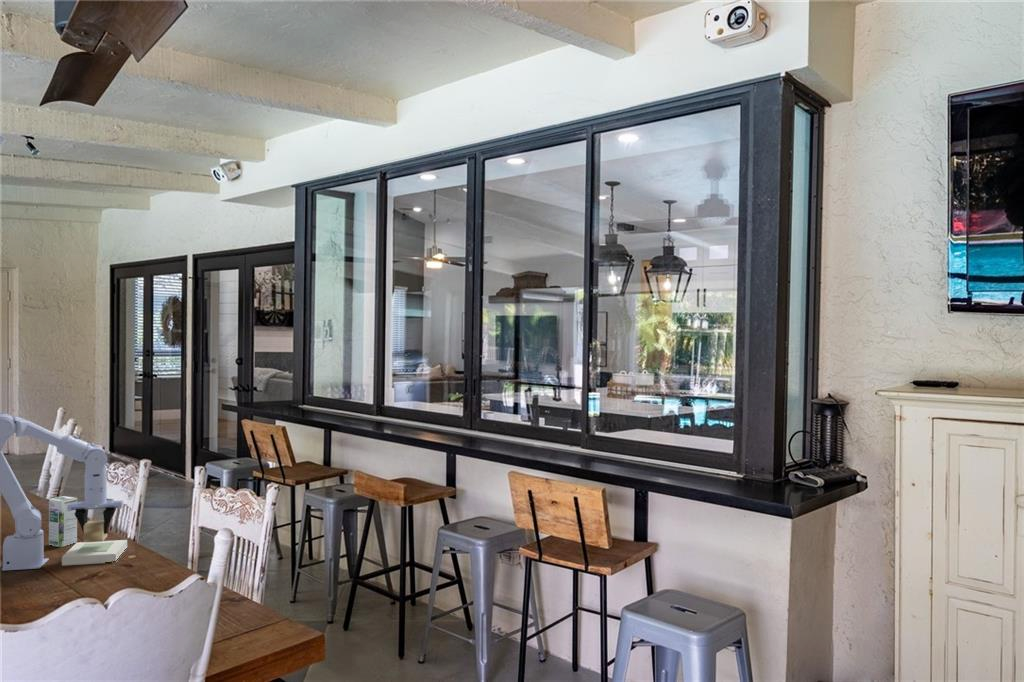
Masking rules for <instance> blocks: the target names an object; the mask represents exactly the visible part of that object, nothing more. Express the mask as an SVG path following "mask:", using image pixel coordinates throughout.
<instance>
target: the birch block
mask: <svg viewBox="0 0 1024 682" xmlns="http://www.w3.org/2000/svg"><path fill="white" fill-rule="evenodd" d="M106 538H108V533H107V534H104V519H102V520H87V523H86V524H85V525H84V535H83V542H102V541H105V540H106Z"/></svg>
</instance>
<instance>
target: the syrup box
mask: <svg viewBox="0 0 1024 682" xmlns="http://www.w3.org/2000/svg"><path fill="white" fill-rule="evenodd" d="M77 502H78V497H74V496H66V495H63V496H56V497H52V498H50V499H48V546H50V545H52V547H56V548H57V547H58V548H63V547H67V545H68V546H70V544H71V545H73V543H74V544H76V543H77V542H78V519H77V518H76V516H75V511H76V510H72V511H67V505H68V504H69V503H77Z"/></svg>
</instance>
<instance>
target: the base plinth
mask: <svg viewBox="0 0 1024 682" xmlns="http://www.w3.org/2000/svg"><path fill="white" fill-rule="evenodd" d="M126 548H128V539H120V540H119V539H116V540H104V541H102V542H84V541H82V542H81V541H80V542H78V541H77V543H74V545H73V546H71V547H70V549H69V550H67V551H66V552H65V553H64V554H63V555H62V556H61V566H63V567H64V566H79V565H93V564H96V565H97V564H106V563H105V562H111V561H116V560H117V559H118V558H119V556H120V555H121V554H122V553H123V552H124V553H125V551H126V550H127V549H126ZM125 549H126V550H125ZM124 550H125V551H124ZM124 553H123V554H124ZM123 554H122V555H123ZM122 555H121V556H122ZM121 556H120V557H121ZM119 559H120V558H119ZM119 559H118V560H119ZM118 560H117V561H118ZM117 561H116V562H117Z"/></svg>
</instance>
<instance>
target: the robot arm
mask: <svg viewBox="0 0 1024 682" xmlns="http://www.w3.org/2000/svg"><path fill="white" fill-rule="evenodd" d="M14 434H15V438H19V437H26V436H27V437H31V438H34V439H36V440H37V441H38V440H39V441H41V442H44V443H46V444H49V445H51V446H53V447H55V448H56V450H57V453H58V454H60V455H63V456H65V457H68V458H70V459H73V460H75V461H77V462H80V463H81V462H83V463H84V464H85V466H84V467H85V471H84V474H83V475H84V501H79V502H78V501H77V503H69V504H68V505H67V511H72V510H76V511H75V516H76V518H77V522H78V523H79V525H80V528H81V531H82V535H83V536H84V525H85V524H86V523H87V522H88V517H89V510H103V511H102V515H103V520H104V534H107V535H108V533H109V530H110V525H111V521H112V519H113V516H114V515H115V512H116V511H117V509H118V510H119V509H120V510H121V509H123V508H124V500H107V499H108V498H107V496H108V495H107V493H108V492H107V489H108V488H107V466H106V464H107V462H108V461H109V460H108V459H109V458H108V456H107V453H106V451H105V450H104V449H103V448H102V447H100V446H99V445H95V443H93V442H90V443H89V442H88V441H85V440H83V439H80V438H79V435H76V434H74V435H72V434H68V435H64V436H63V435H59V434H57V433H56V432H54V431H51V430H50V429H47V428H44V427H43V426H41V425H39V424H36V423H34V422H32V421H30V420H28V419H25V418H23V417H20V416H15V417H14V415H13V414H10V413H8V412H2V413H1V412H0V493H1V495H2V497H3V499H4V500H5V502H6V504H7V506H8V508H9V510H10V512H11V515H12V518H13V520H14V522H15V524H14V528H15V529H14V530H15V532H14V533H13V534H12V535H7V536H6V537H5V538H4V540H3V544H2V569H1V571H2V572H3V571H17V570H18V571H19V570H33V569H35V570H36V569H37V570H38V569H40V568H42V567H43V566H44V565H45V564H46V563H47V562H48V561H49V559H50V558H49V557H47V558H44V557H45V555H44V554H45V551H44V549H45V547H44V546H45V545H44V541H45V540H44V539H45V538H44V535H45V534H44V530H43V529H42V525H43V524H42V523H43V522H42V513H41V512H40V510H39V509H37V508H35V507H34V506H33V505H32V503H31V501H30V500H29V499H28V497H27V496H26V493H25V491H24V489H23V488H22V486H21V484H20V483H19V480H18V479H17V477H16V475H15V473H14V471H13V469H12V467H11V465H10V464H9V462H8V460H7V458H6V457H5V455H4V453H3V451H2V450H3V448H4V446H5V444H6V442H7V441H8V440H9V439H10V438H12V436H13V435H14Z"/></svg>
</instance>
